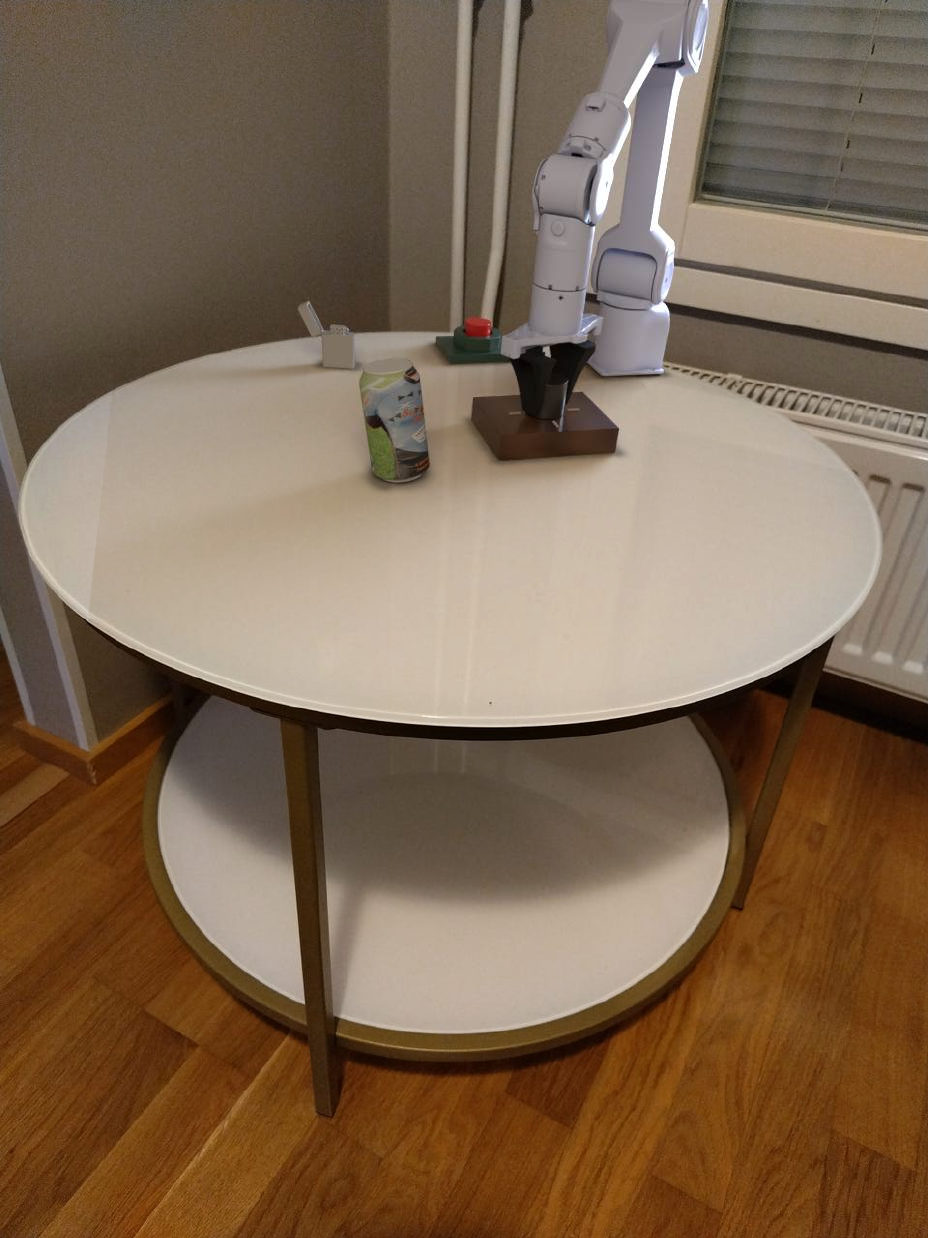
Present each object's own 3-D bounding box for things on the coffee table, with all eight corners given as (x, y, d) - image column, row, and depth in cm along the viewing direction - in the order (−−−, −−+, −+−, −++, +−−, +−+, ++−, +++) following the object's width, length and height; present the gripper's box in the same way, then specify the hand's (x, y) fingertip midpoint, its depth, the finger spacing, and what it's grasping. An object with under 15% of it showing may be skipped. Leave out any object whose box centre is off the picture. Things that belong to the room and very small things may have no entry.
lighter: (355, 364, 116) (354, 303, 111) (353, 368, 114) (352, 307, 110) (302, 360, 116) (299, 299, 111) (300, 364, 115) (297, 303, 110)
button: (485, 329, 123) (486, 317, 122) (493, 337, 120) (494, 325, 119) (461, 330, 122) (462, 317, 121) (468, 338, 119) (469, 325, 118)
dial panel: (579, 414, 107) (582, 389, 105) (615, 452, 98) (619, 426, 96) (470, 420, 103) (472, 395, 101) (498, 460, 95) (501, 434, 93)
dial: (555, 403, 101) (560, 367, 99) (568, 418, 98) (574, 381, 95) (520, 404, 100) (524, 368, 97) (532, 420, 97) (536, 383, 94)
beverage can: (421, 493, 87) (425, 378, 80) (352, 483, 88) (349, 368, 81) (435, 467, 92) (440, 357, 85) (369, 457, 93) (369, 347, 86)
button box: (500, 342, 127) (502, 321, 125) (518, 361, 121) (520, 339, 119) (435, 344, 124) (436, 323, 123) (449, 363, 118) (450, 342, 117)
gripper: (542, 304, 84) (527, 434, 92) (631, 283, 93) (611, 403, 101) (490, 287, 88) (481, 413, 96) (581, 268, 96) (565, 385, 104)
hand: (544, 407), depth 98 cm, fingers closed on dial, 4 cm apart
